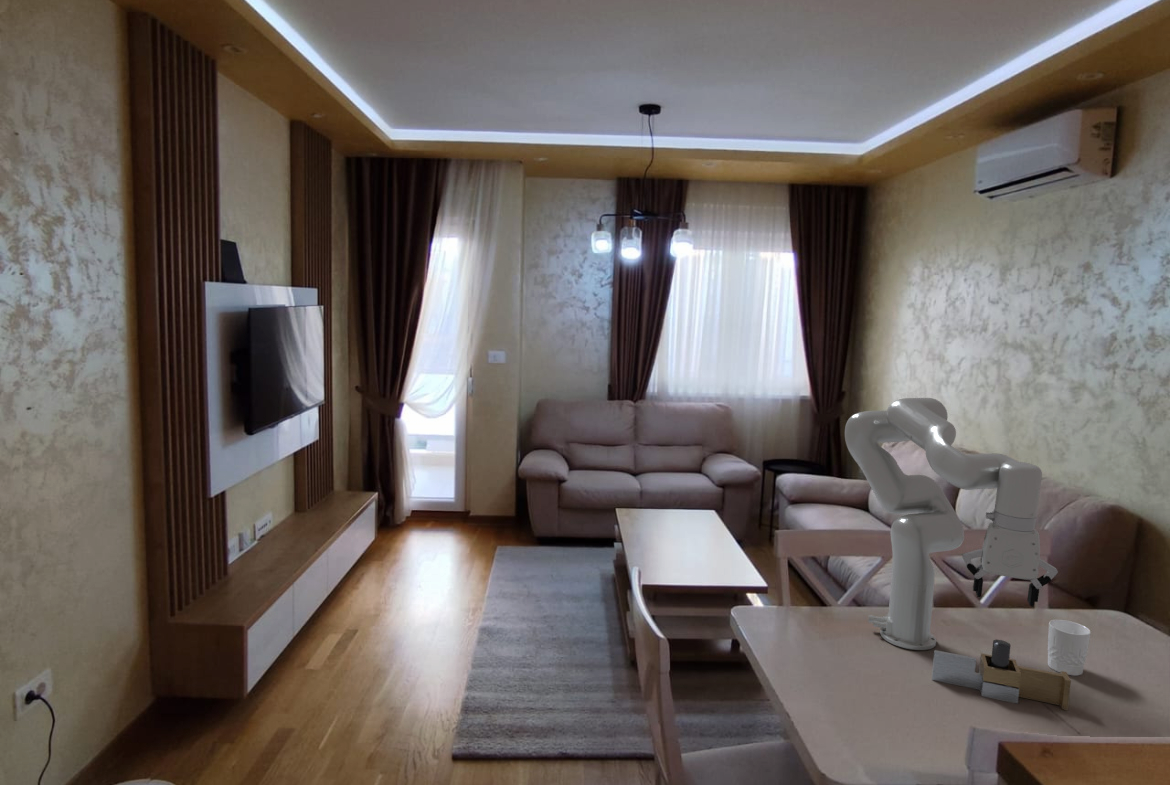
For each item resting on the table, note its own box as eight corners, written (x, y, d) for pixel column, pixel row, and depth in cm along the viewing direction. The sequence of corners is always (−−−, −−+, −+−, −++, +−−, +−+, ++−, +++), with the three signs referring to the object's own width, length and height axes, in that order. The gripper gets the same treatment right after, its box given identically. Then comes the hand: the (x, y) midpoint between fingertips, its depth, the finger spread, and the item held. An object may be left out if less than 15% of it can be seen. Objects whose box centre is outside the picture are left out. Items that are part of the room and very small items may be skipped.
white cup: (1092, 679, 158) (1097, 636, 157) (1053, 674, 159) (1058, 632, 158) (1075, 662, 165) (1080, 621, 164) (1038, 658, 167) (1043, 617, 166)
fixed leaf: (932, 686, 153) (935, 657, 152) (931, 672, 159) (933, 644, 158) (1017, 703, 147) (1020, 674, 146) (1012, 688, 153) (1015, 659, 152)
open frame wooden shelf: (981, 695, 149) (984, 667, 148) (978, 680, 155) (980, 653, 155) (1069, 713, 143) (1072, 684, 143) (1061, 697, 149) (1064, 669, 149)
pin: (989, 694, 150) (994, 644, 149) (987, 686, 153) (992, 638, 152) (1006, 697, 149) (1011, 648, 148) (1004, 690, 152) (1009, 641, 151)
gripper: (969, 520, 147) (959, 598, 149) (1067, 533, 140) (1056, 615, 142) (965, 510, 153) (956, 585, 156) (1059, 523, 147) (1048, 600, 149)
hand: (1004, 599), depth 149 cm, fingers open, 9 cm apart
